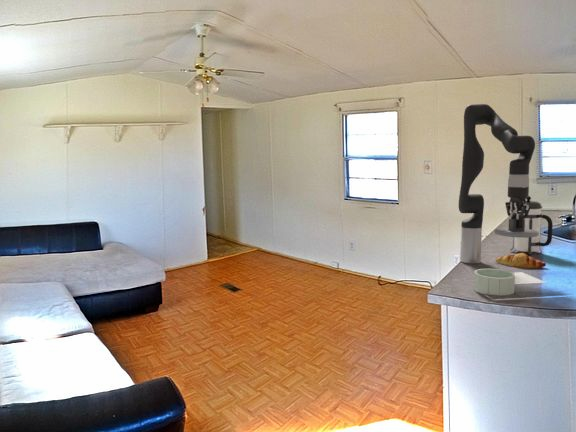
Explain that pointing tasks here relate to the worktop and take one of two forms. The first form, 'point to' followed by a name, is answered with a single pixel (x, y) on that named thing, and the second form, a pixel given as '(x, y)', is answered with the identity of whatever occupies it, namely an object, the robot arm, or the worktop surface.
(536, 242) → the coffee press
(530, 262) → the croissant
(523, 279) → the mat
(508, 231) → the lid
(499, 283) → the bowl
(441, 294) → the worktop surface
